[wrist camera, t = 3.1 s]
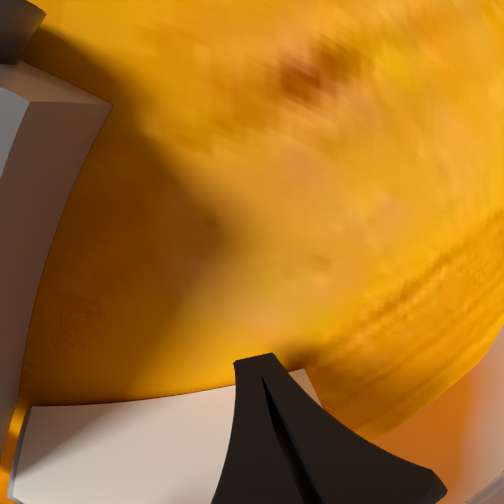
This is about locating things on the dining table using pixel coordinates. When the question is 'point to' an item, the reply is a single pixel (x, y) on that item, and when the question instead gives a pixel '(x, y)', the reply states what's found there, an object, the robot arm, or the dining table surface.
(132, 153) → the dining table surface
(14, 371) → the camera case
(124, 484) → the side door
